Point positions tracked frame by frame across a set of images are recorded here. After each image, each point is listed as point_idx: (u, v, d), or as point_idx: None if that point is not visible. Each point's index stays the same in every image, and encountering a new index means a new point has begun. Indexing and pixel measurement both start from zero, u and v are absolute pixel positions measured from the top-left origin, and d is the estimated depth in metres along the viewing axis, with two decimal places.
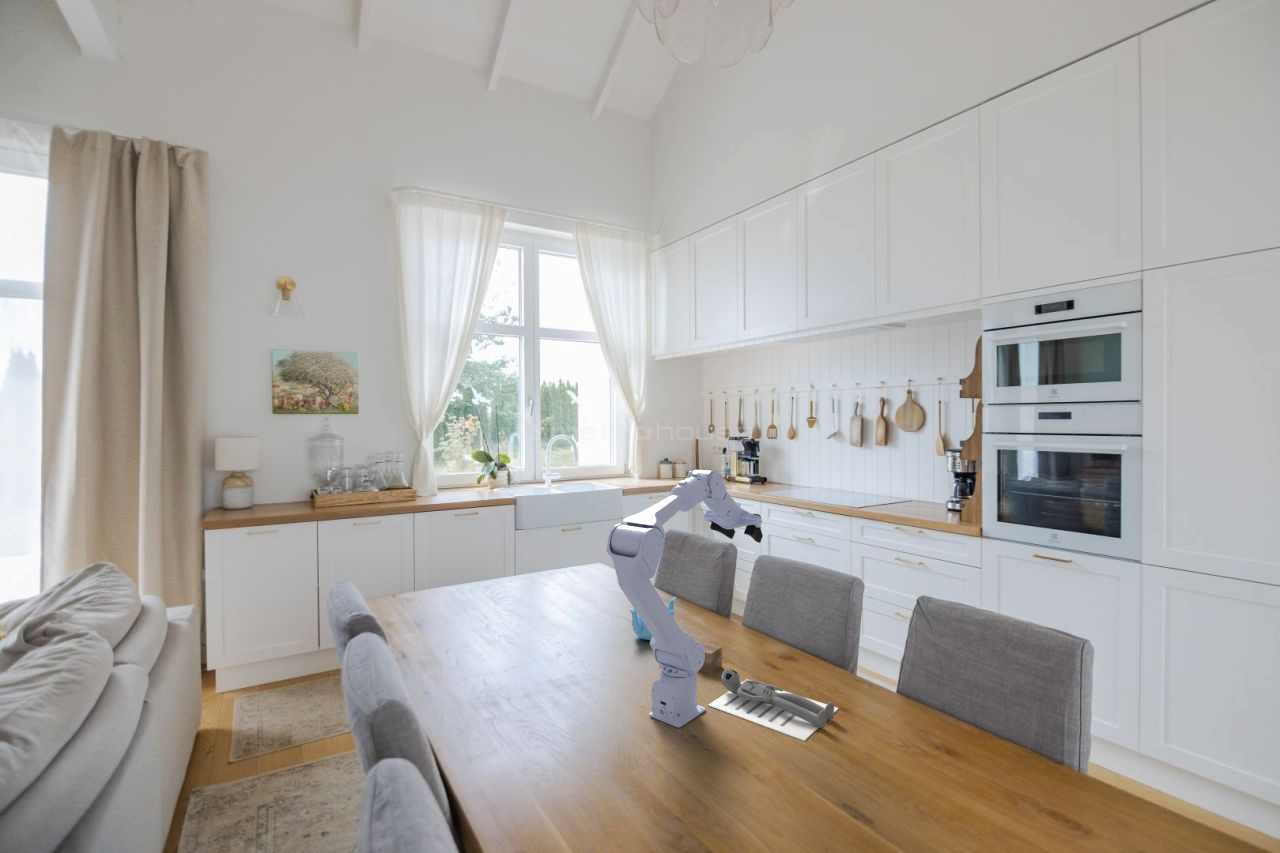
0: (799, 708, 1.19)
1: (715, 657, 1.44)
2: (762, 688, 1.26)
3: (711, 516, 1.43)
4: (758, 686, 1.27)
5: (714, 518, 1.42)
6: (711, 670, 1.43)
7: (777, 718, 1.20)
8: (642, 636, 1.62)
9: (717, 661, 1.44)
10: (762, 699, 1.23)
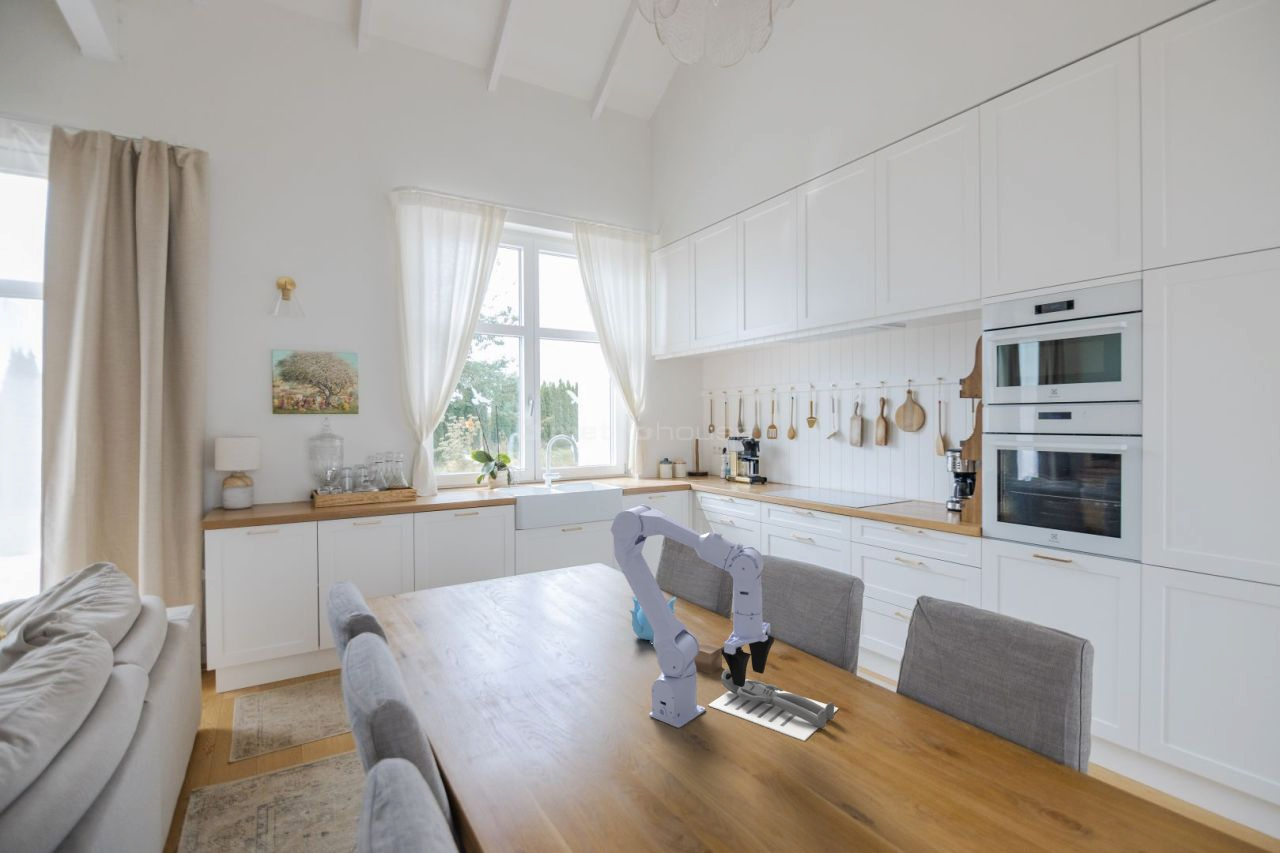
0: (799, 708, 1.19)
1: (715, 657, 1.44)
2: (762, 688, 1.26)
3: None
4: (758, 686, 1.27)
5: None
6: (711, 670, 1.43)
7: (777, 718, 1.20)
8: (642, 636, 1.62)
9: (717, 661, 1.44)
10: (762, 699, 1.23)
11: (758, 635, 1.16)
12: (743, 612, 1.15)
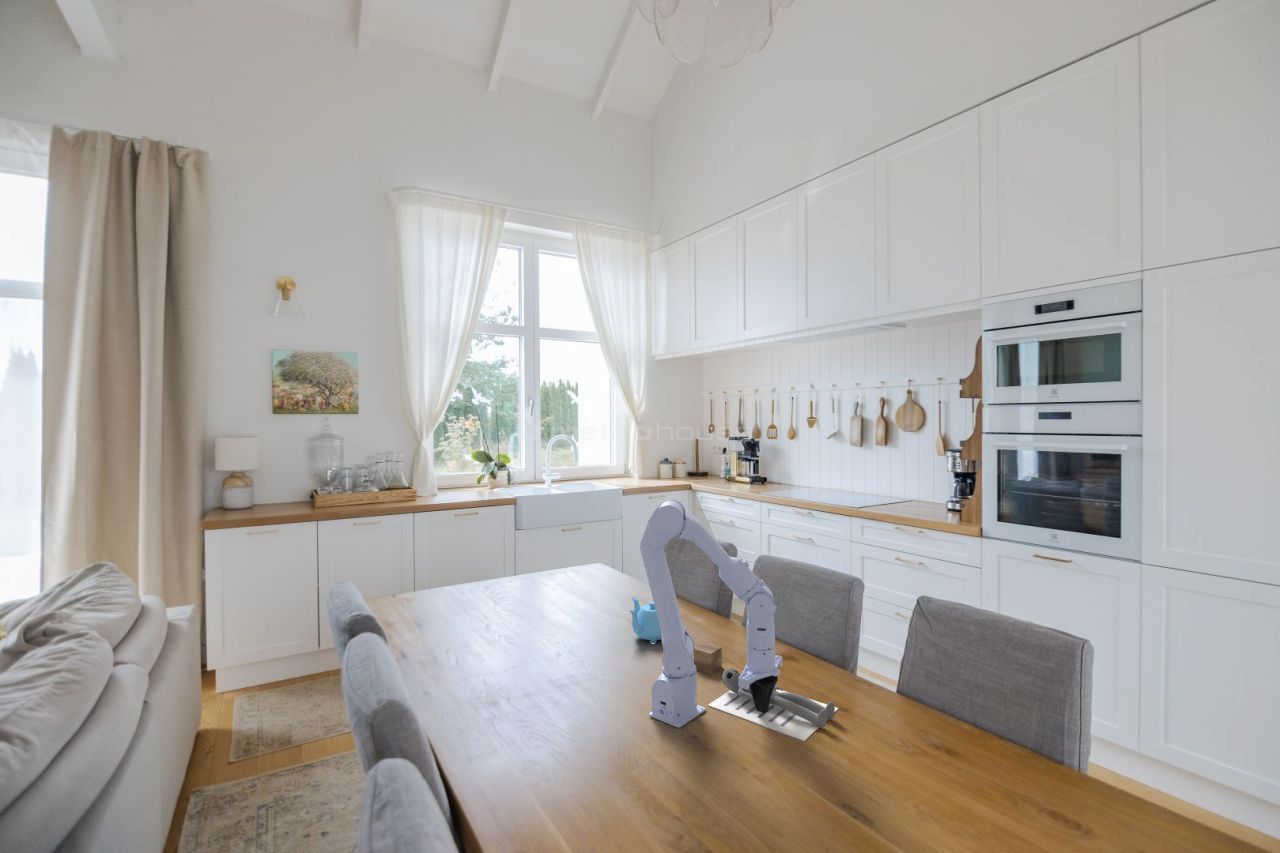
0: (800, 707, 1.19)
1: (715, 657, 1.44)
2: None
3: None
4: None
5: None
6: (711, 670, 1.43)
7: (777, 718, 1.20)
8: (642, 636, 1.62)
9: (717, 661, 1.44)
10: None
11: (771, 670, 1.19)
12: (760, 648, 1.19)
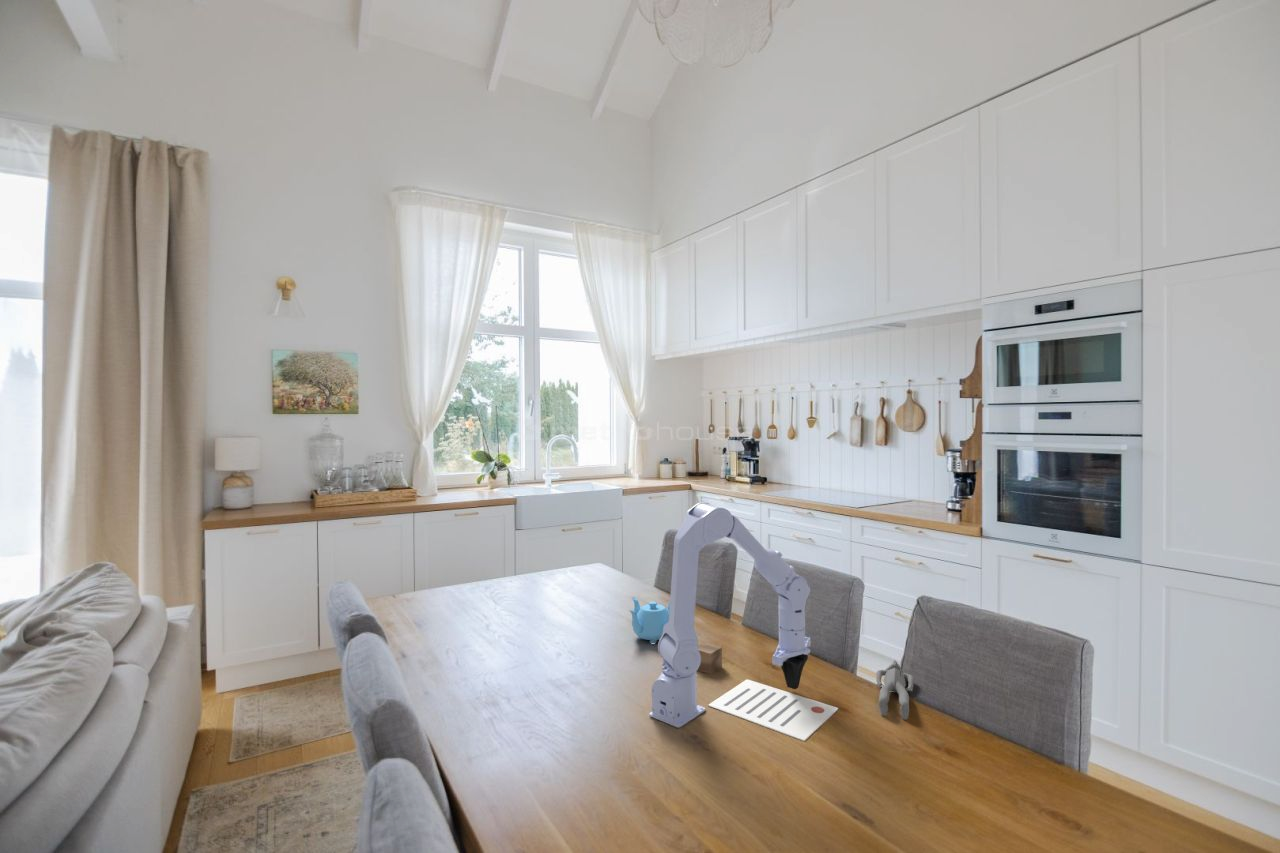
0: None
1: (715, 657, 1.44)
2: None
3: None
4: None
5: None
6: (711, 670, 1.43)
7: (777, 718, 1.20)
8: (642, 636, 1.62)
9: (717, 661, 1.44)
10: None
11: (802, 649, 1.30)
12: (798, 628, 1.29)
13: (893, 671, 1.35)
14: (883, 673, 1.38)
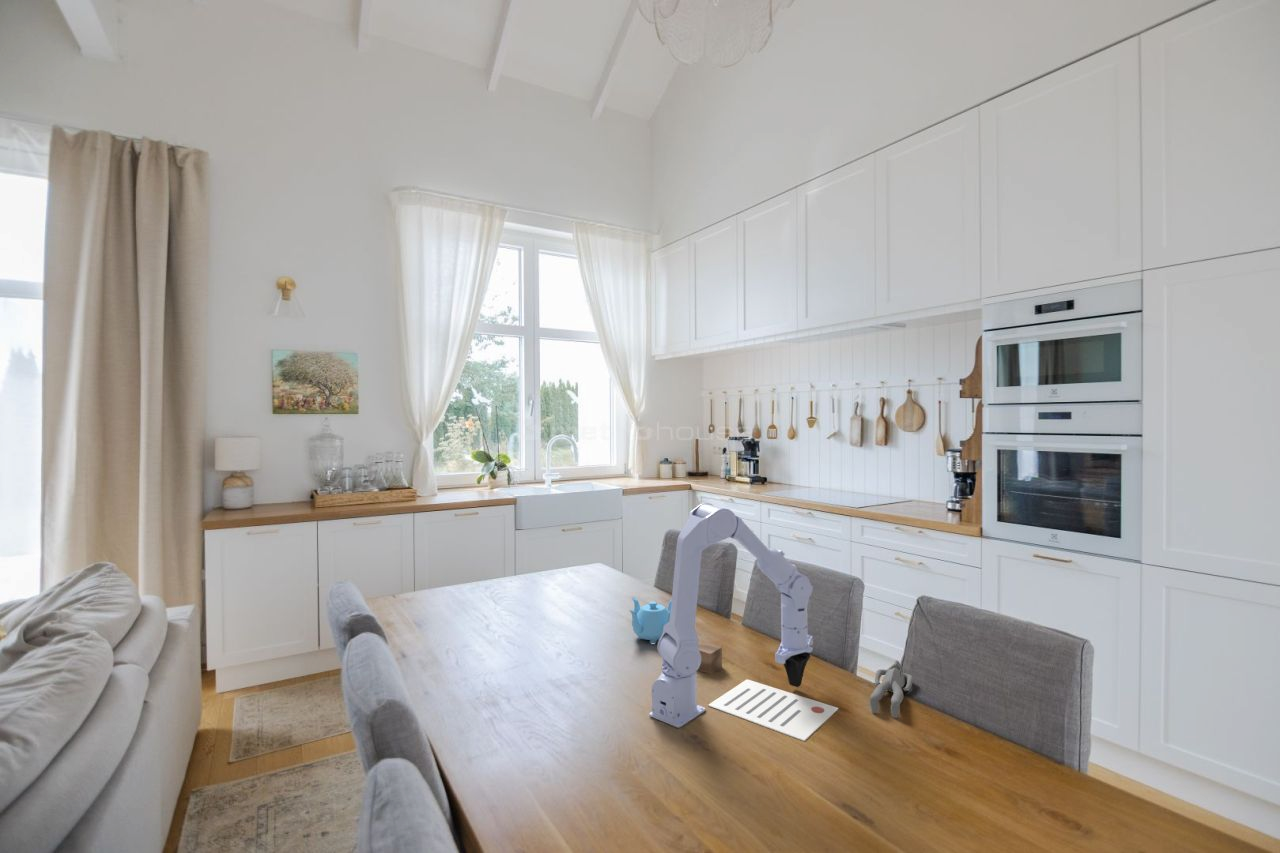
0: None
1: (715, 657, 1.44)
2: None
3: None
4: None
5: None
6: (711, 670, 1.43)
7: (777, 718, 1.20)
8: (642, 636, 1.62)
9: (717, 661, 1.44)
10: (908, 689, 1.31)
11: (804, 647, 1.31)
12: (801, 627, 1.30)
13: (892, 671, 1.35)
14: (883, 672, 1.38)
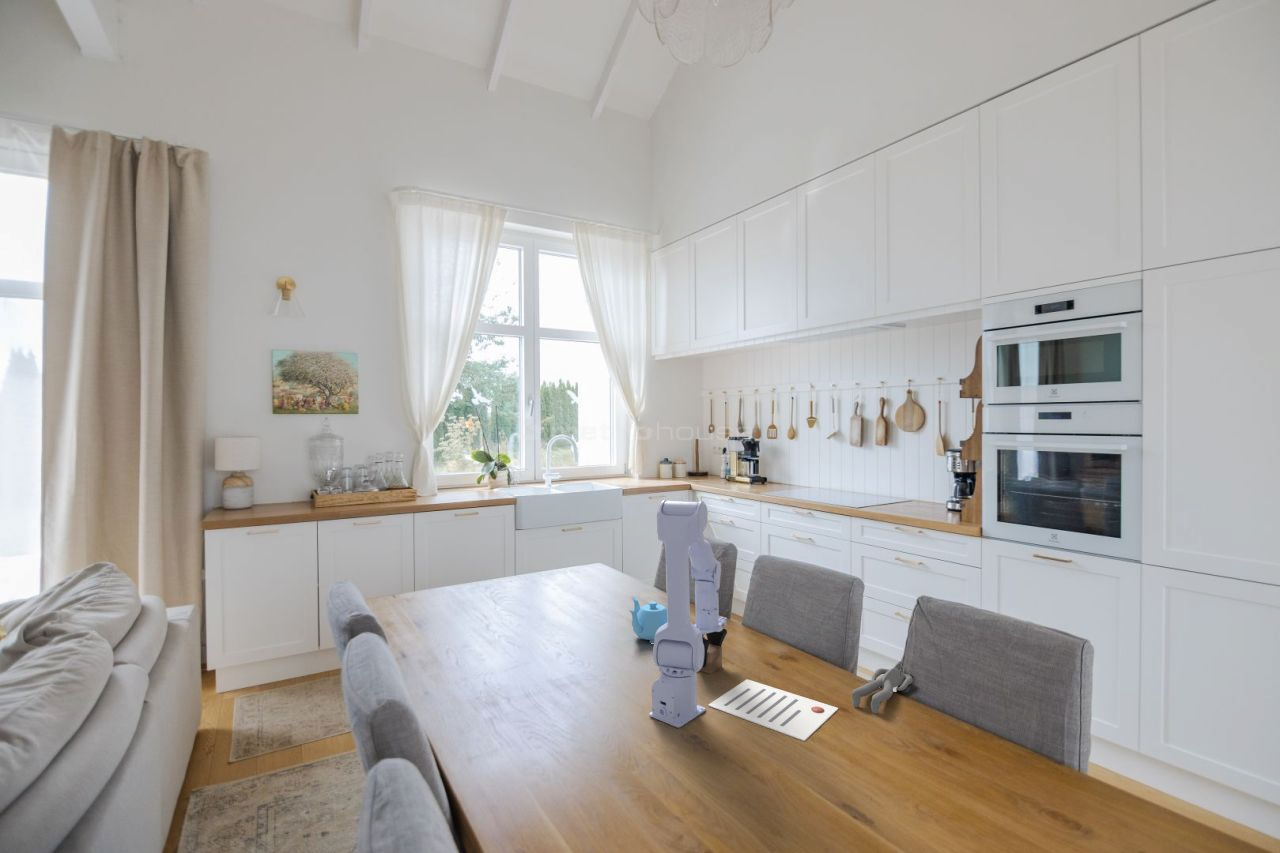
0: None
1: (715, 657, 1.44)
2: None
3: None
4: None
5: None
6: (711, 670, 1.43)
7: (777, 718, 1.20)
8: (642, 636, 1.62)
9: (717, 661, 1.44)
10: (902, 689, 1.31)
11: (714, 627, 1.43)
12: (718, 606, 1.44)
13: (889, 670, 1.35)
14: (884, 672, 1.38)
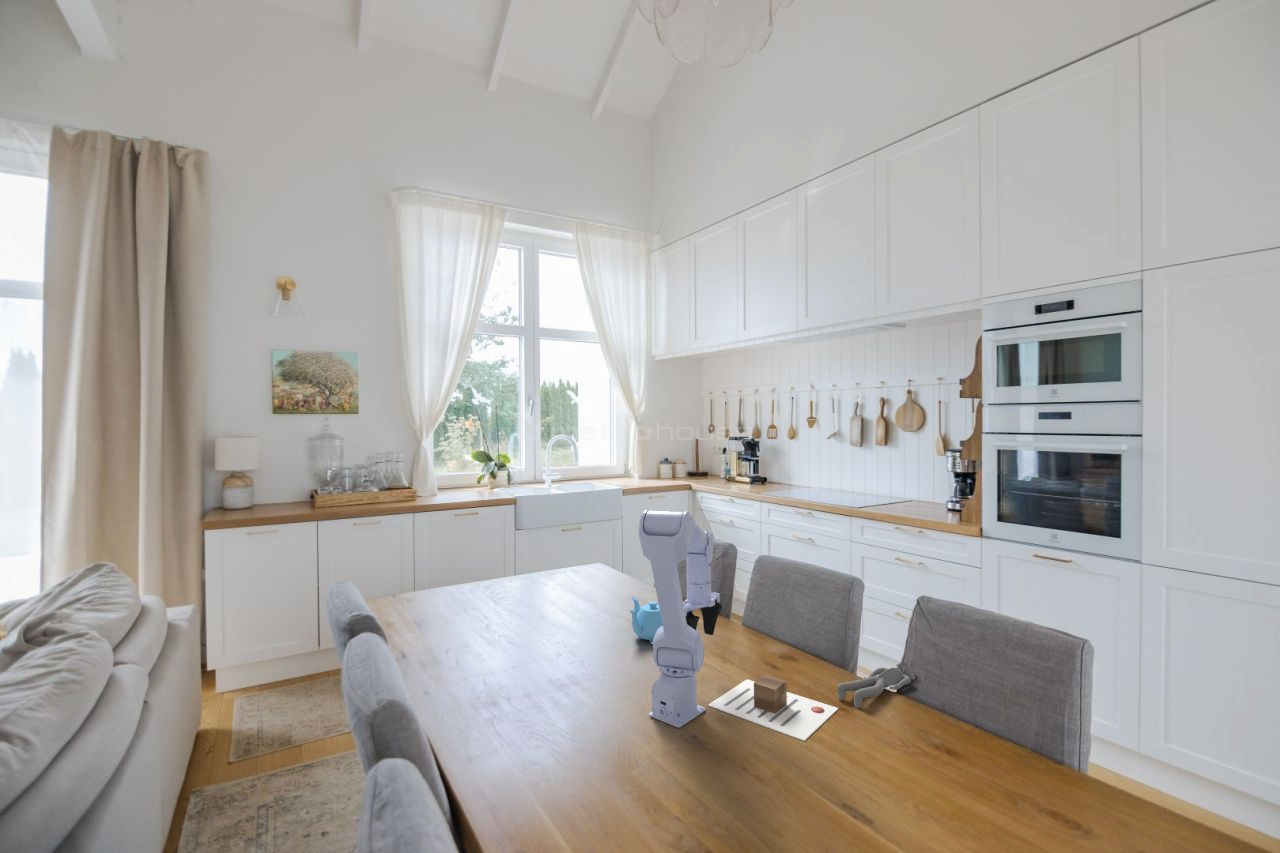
0: (871, 696, 1.27)
1: (780, 694, 1.24)
2: None
3: (710, 595, 1.44)
4: None
5: None
6: (775, 709, 1.22)
7: (777, 718, 1.20)
8: (642, 636, 1.62)
9: (781, 698, 1.24)
10: (895, 688, 1.31)
11: (707, 601, 1.37)
12: (710, 580, 1.39)
13: None
14: (884, 671, 1.39)
